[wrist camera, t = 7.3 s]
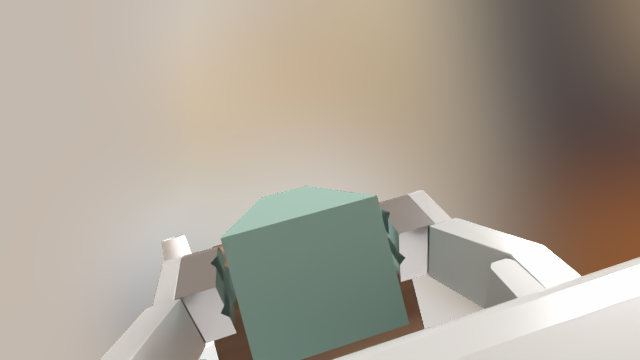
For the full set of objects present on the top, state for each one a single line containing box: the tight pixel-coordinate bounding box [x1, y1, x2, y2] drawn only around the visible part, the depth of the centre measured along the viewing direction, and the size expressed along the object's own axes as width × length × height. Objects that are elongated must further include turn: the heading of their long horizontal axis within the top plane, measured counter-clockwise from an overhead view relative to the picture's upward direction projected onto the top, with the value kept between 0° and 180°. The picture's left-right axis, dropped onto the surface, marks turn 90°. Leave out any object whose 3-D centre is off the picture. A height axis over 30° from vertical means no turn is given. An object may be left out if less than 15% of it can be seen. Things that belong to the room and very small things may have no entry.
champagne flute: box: [162, 235, 214, 349], centre depth 73 cm, size 7×7×24 cm
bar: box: [221, 186, 409, 360], centre depth 17 cm, size 19×4×3 cm, turn 7°
